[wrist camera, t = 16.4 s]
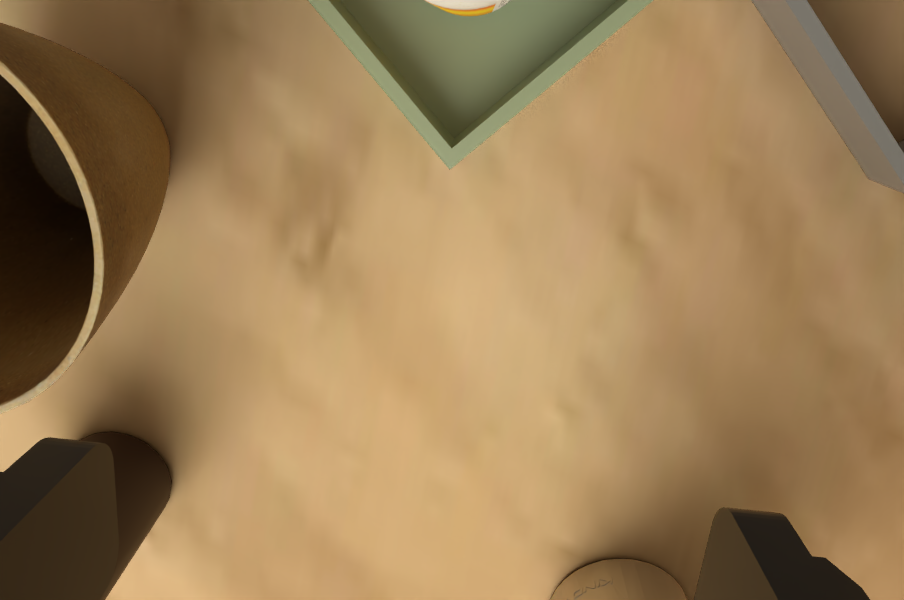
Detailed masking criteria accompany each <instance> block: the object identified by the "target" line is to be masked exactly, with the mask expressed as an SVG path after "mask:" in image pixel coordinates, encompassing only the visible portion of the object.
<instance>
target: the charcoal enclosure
mask: <svg viewBox="0 0 904 600" xmlns="http://www.w3.org/2000/svg"><path fill="white" fill-rule="evenodd" d="M752 2H753V3H754V5H755V6H756V8H757V9H758V11H759V13H760V14H761V16H762V17H763V19H764V20H765V22H766V23H767V25H768V26H769V28H770V29H771V31H772V32H773V34H774V35H775V37H776V38H777V40H778V41H779V43H780V45H781V46H782V48H783V49H784V51H785V52H786V54H787V55H788V57H789V58H790V60H791V61H792V63H793V64H794V66H795V67H796V69H797V70H798V72H799V73H800V75H801V77H802V78H803V80H804V81H805V83H806V84H807V86H808V87H809V89H810V90H811V92H812V93H813V95H814V96H815V98H816V99H817V101H818V102H819V104H820V106H821V107H822V109H823V110H824V112H825V113H826V115H827V116H828V118H829V119H830V121H831V122H832V124H833V125H834V127H835V128H836V130H837V131H838V133H839V134H840V136H841V138H842V139H843V141H844V142H845V144H846V145H847V147H848V148H849V150H850V151H851V153H852V154H853V156H854V157H855V159H856V160H857V162H858V163H859V165H860V166H861V168H862V170H863V171H864V173H865V174H866V176H867V177H868V179H869V180H872V181H874V182H877V183H879V184H882V185H884V186H887V187H889V188H892V189H894V190H897V191H899V192H902V193H904V140H902V141H901V142H900V143H897V142H896V140H895V139H894V137H893V135H892V134H891V132H890V131H889V129H888V128H887V126H886V124H885V123H884V121H883V120H882V118H881V116H880V115H879V113H878V112H877V110H876V109H875V107H874V105H873V104H872V102H871V101H870V99H869V98H868V96H867V94H866V93H865V91H864V90H863V88H862V87H861V85H860V83H859V82H858V80H857V79H856V77H855V75H854V74H853V72H852V71H851V69H850V68H849V66H848V64H847V63H846V61H845V60H844V58H843V57H842V55H841V53H840V52H839V50H838V49H837V47H836V45H835V44H834V42H833V41H832V39H831V38H830V36H829V34H828V33H827V31H826V30H825V28H824V27H823V25H822V23H821V22H820V20H819V19H818V17H817V15H816V14H815V12H814V11H813V9H812V8H811V6H810V4H809V3H808V1H807V0H752Z"/></svg>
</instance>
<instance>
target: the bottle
mask: <svg viewBox="0 0 904 600" xmlns="http://www.w3.org/2000/svg"><path fill="white" fill-rule="evenodd" d="M79 441H88V442H98V443H105V444H107V445H108V446H109V447H110V449H111V451H112V455H113V460H114V474H115V489H116V504H117V519H118V534H119V550H118V558H117V562H116V566H115V570H114V573H113V576H112V578H111V581H110V583H109V585H108V587H107V589H106V591H105V592H104V594H103V595H102V597H101V598H100V600H105V599H106V597H107V596H108V594H109V593H110V591H111V590H112V588H113V587H114V585H115V584H116V582H117V580H118V579H119V577H120V576H121V574H122V573H123V571H124V570H125V568H126V567H127V565H128V564H129V562H130V560H131V559H132V557H133V556H134V554H135V553H136V551H137V550H138V548H139V547H140V545H141V544H142V542H143V540H144V539H145V537H146V536H147V534H148V533H149V531H150V530H151V528H152V527H153V525H154V524H155V522H156V520H157V519H158V517H159V516H160V514H161V513H162V511H163V510H164V508H165V506H166V504H167V502H168V500H169V498H170V491H171V478H170V475H169V471H168V468H167V466H166V465H165V463H164V462H163V460H162V459H161V457H160V456H159V454H158V453H157V452H156V451H154V450H153V449H152V448H151V447H150V446H148V445H147V444H146V443H145V442H143V441H141V440H138V439H136V438H134V437H132V436H130V435H126V434H121V433H116V432H104V433H95V434H93V435H90V436H88V437H86V438H83V439H81V440H79Z"/></svg>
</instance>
